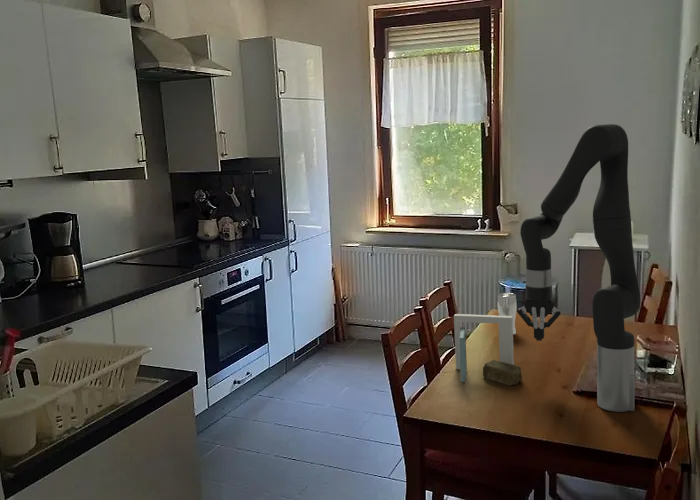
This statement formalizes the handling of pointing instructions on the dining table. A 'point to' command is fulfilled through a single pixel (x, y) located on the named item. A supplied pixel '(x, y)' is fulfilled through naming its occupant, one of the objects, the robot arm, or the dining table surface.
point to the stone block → (502, 372)
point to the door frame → (504, 334)
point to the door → (463, 354)
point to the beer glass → (507, 306)
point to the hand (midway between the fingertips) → (539, 339)
